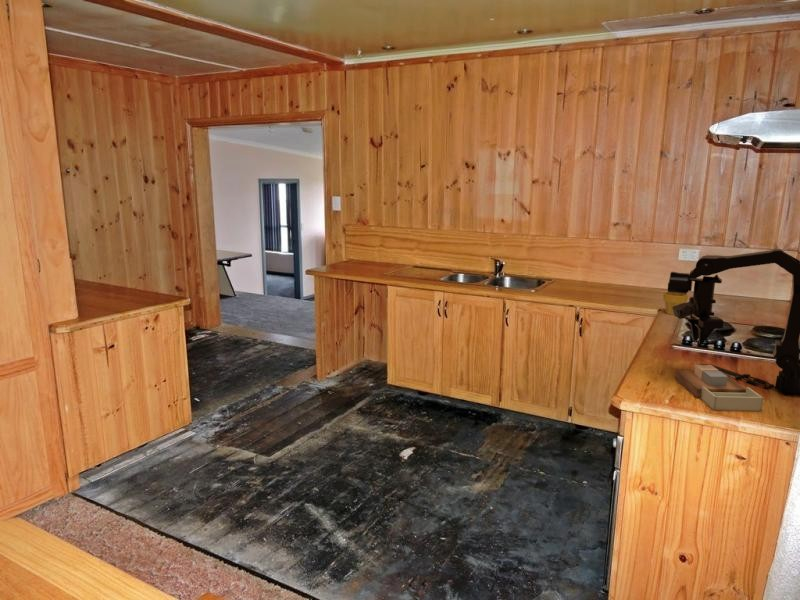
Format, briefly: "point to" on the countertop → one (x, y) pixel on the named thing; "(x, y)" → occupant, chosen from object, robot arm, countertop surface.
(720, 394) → the tray
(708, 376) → the grey block
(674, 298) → the plant pot
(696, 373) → the cream block
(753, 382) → the knife
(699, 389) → the board
